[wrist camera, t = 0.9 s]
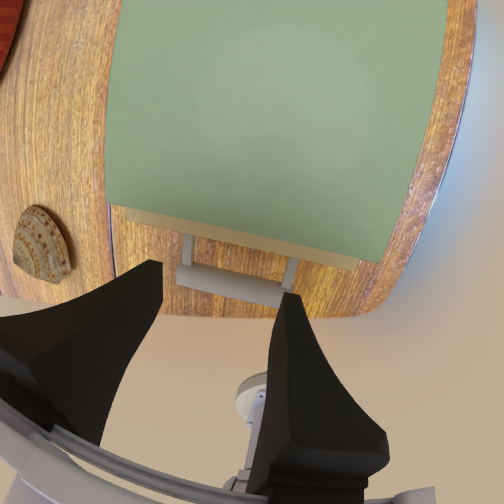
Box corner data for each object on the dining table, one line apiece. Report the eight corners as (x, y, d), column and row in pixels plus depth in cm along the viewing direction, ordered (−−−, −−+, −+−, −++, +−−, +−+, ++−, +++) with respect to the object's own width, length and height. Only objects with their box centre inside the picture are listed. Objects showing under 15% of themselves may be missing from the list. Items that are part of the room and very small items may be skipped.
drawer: (319, 276, 22) (322, 343, 16) (171, 242, 22) (130, 296, 16) (383, 36, 13) (425, 10, 7) (200, 4, 13) (153, -31, 7)
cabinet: (351, 197, 19) (379, 263, 12) (173, 160, 20) (105, 203, 12) (393, 14, 12) (449, -28, 5) (202, -19, 13) (145, -71, 5)
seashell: (66, 302, 26) (4, 282, 23) (76, 266, 31) (20, 248, 27) (72, 246, 22) (-1, 222, 19) (86, 210, 26) (22, 190, 23)
